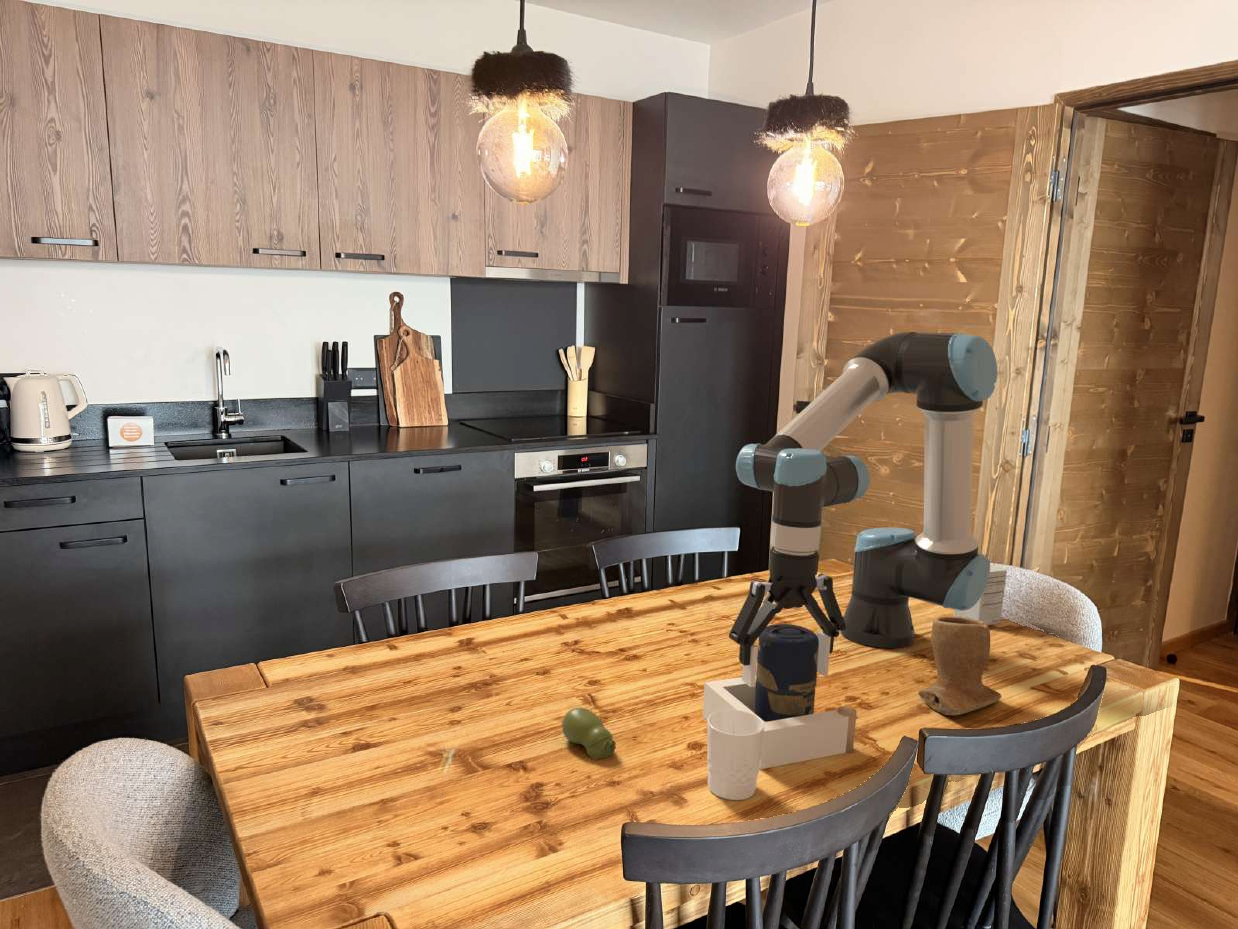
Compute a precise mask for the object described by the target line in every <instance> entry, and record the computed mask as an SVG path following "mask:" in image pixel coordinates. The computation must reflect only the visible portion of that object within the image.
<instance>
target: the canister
mask: <svg viewBox="0 0 1238 929" xmlns="http://www.w3.org/2000/svg"><path fill="white" fill-rule="evenodd" d="M818 650H819V640H818V637H817V633H815V632H814V631H813V630H811V629H809V628H807V627H804V626H802V625H796V624H790V623H777V624H771V625H767V627H766V628H765V629H764V631H763V632H762V633H761V635H760V636H759V637H758V644H757V662H756V684H755V714H756V715H757V716H758V717H760V718H761V719H762V720H763V721H764V722H769V721H775V720H781V719H786V718H792V717H798V716H804V715H810V714H815V713H814V712H815V701H816V700H815V698H816V687H817V678H818V672H817V665H818Z"/></svg>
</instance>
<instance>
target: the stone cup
mask: <svg viewBox="0 0 1238 929" xmlns="http://www.w3.org/2000/svg"><path fill="white" fill-rule="evenodd" d="M989 626H990V625H987V624H986V623H985V622H983V621H980V620H974V619H971V618H964V617H954V616H940V617H936V618H935V619H934V620H933V622H932V625H931V634H930V642H931V646H932V647H931V648H932V650H933V651H932V652H933V656H934V659H935V660H934V662H935V667H936V672H937V675H936V681H935V682H934V683H933V684H930V685H929V686H927V687H924V688H922V689H920V690H918V692H917V694H918V695H919V697H921V699H922V700H923V702H925V703H926V704H927V705H928V706H929V707H930V708H931V709H932V710H934V711H935V712H937V713H939V714H942V715H946V716H953V717H955V716H960V715H964V714H966V713H970V712H973V711H976V710H979V709H982V708H985V707H988V706H990V705H992V704H994V703H996V702H999V701H1000V700H1001V698H1002V694H1001V693H999V691H996V690H994V689H993V688H991V687H988V686H987V685H984V684H983V680H982V679H983V674H984V671H985V668H986V665H987V662H988V660H989V657H990V651H991V630H990V627H989Z"/></svg>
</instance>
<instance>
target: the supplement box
mask: <svg viewBox="0 0 1238 929" xmlns="http://www.w3.org/2000/svg"><path fill="white" fill-rule="evenodd" d="M1007 573H1008V569H1007V570H1006V569H1003V568H1001V567H997V566H994V565H991V564H990V573H989V578H988V582H987V585H986V587H985V590H984V592H983V594H982V596H981V597H980V599H979V600H978V602H977V603H976V604H975V605H974V606H973V607H972V608H970V609H968V610H965V611H960V610H956V609H953V617H964V618H971V619H974V620H980V621H983V622H985V623H986V624H987V625H988V626H992V625H997V624H1000V623H1001V621H1002V620H1001V619H1002V612H1003V604H1004V597H1005V588H1006V580H1007Z"/></svg>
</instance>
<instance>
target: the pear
mask: <svg viewBox="0 0 1238 929" xmlns="http://www.w3.org/2000/svg"><path fill="white" fill-rule="evenodd" d="M561 722H562V723H561V730H562V733H563V735H564V737H565V738H566V739H567V740H568V741H570V742H571V743H574V744H578V745H582V746H583V747H584V748H585V751H586V754H587V755H588V756H589V757H590V758H591V759H594V760H601V759H603V758H606V757H609V756H611V755H614V752H615V749H616V747H617V746H616V744H617V743H616V741H615V740H613V737H614V736H613V734H612V733H611V731H609V730H608V729H607V728H606V727H605V726H604V723H603V721H602V720H601V718H600V717H599V716H598V715H597V714H596V713H595V712H593V711H592V710H590V709H588V708H586V707H574V708H572V709H570V710H569V711H567V712H566V713H565V715H564V717H563V718H562V721H561Z"/></svg>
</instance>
